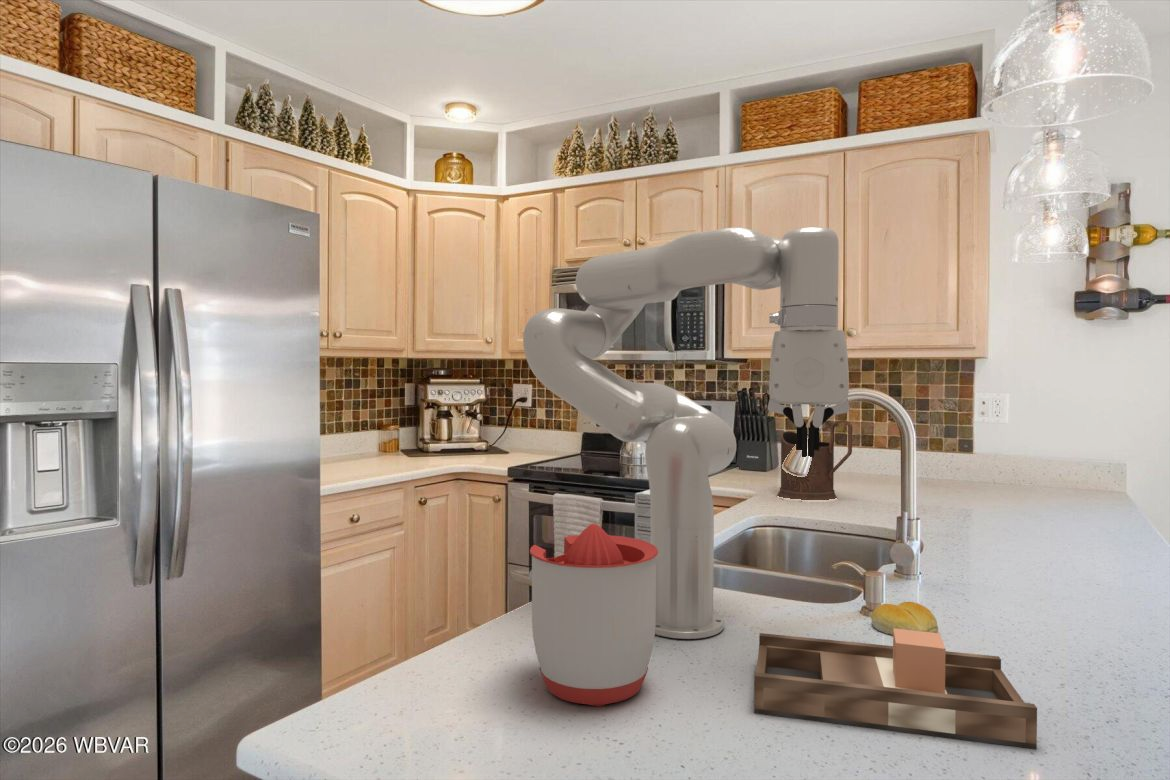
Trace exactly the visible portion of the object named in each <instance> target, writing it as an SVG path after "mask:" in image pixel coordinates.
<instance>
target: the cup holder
mask: <svg viewBox="0 0 1170 780" xmlns="http://www.w3.org/2000/svg"><path fill="white" fill-rule="evenodd" d="M839 423H840V424H841V423H844V424H845V425H847V453H846V454H845V455H844V456H843V457H842V459H841V460H840V461H839V462H838V463H837V464H836V465H834V463H835V462H834V461H835V455H834V453H835V446H834V444H835V437H836V436H835V435H836V434H835V428H836V426H837V425H838V424H839ZM829 431H830V433H829V435H830V436H829V437H830V438H829V440H830V441H829V442H828V441H827V442H826V441H820V440H819V451H814V457H812V461H811V465H810V468H809V472H808V474H807V476H805V477H797V476H793V475H791V474H789V473H786V472H785V471H784V470H783V469H782V464H783V462H784V460H785V458H786V457H787V455H788V454H789V453H790V451H791V450H792V448H793V447H794V446H795V444H796V436H797V432H793V431H782V433H780V434H781V435H780V442H781V443H780V487H779V490H778V493H777V494H776V497H777V496H779V497H783V498H790V499H801V500H829V499H835V498H837V499H838V497H837V495H836V493H835V489H834V485H835V484H834V481H835V480H834V479H835V478H834V476H835V475H834V473H835V472H836V471H837V470H838V469H839V468H840V466H842V465H843V463H844V462H845V461H846V460H847V459H848V458H849V457H851V455H852V453H853V425H852V423H851V422H850V421H849V420H847V419H839V420H836V421H833V422H832V423H831V425H830V429H829Z"/></svg>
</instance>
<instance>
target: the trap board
mask: <svg viewBox="0 0 1170 780" xmlns="http://www.w3.org/2000/svg"><path fill="white" fill-rule="evenodd" d="M758 638H759V640H758V641H759V642H758V653H757V660H756V661H757V662H756V669H755V672H754V675H753V676H754V677H753V678H754V682H753V683H754V686H753V689H754V691H753V693H754V695H753V699H754V700H753V703H754V704H753V713H754V714H761V715H768V716H776V717H784V718H794V719H799V720H808V721H815V722H816V721H817V722H823V723H830V724H831V723H832V724H839V725H846V726H854V727H862V728H870V729H878V730H884V731H885V730H886V731H891V732H892V731H893V732H902V733H908V734H910V733H911V734H917V735H923V736H932V737H939V738H940V737H941V738H948V739H949V738H950V739H954V740H955V739H956V740H963V741H971V742H980V743H986V744H993V745H994V744H996V745H1000V746H1001V745H1003V746H1009V747H1010V746H1011V747H1017V748H1026V749H1033V750H1037V742H1038V734H1037V733H1038V707H1037V706H1036V704H1034V703H1029V702H1025V701H1024V700H1023V698H1022V696H1020V694H1019V693H1018V691H1017V690H1016V689H1015V687H1014V686H1013V684H1012V682H1011V681H1010V680H1009V679H1008V677H1007V676H1006V674H1005V673H1004V672H1003V670H1002V659H1001V658H1000V656H997V655H987V654H980V653H979V654H977V653H967V652H957V651H946V650H945V694H943V693H934V692H927V691H920V690H913V689H906V688H898V687H895V681H894V674H893V645H883V644H875V643H867V642H858V641H857V642H855V641H845V640H836V639H834V640H833V639H824V638H815V637H804V636H793V635H785V634H774V633H773V634H772V633H763V632H760V633H759V637H758Z"/></svg>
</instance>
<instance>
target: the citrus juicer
mask: <svg viewBox="0 0 1170 780" xmlns="http://www.w3.org/2000/svg"><path fill="white" fill-rule="evenodd" d="M563 541H564V542H563V554H560V555H557V556H554V557H548V558H547V550H546V549H545V548H542V547H540V546H538V545H536V544H533V545H532V546H531V547H530V549H529V554H530V555H531V570H530V571H529V572H528V578H529V580H531V624H532V638H533V644H534V648H535V649H534V650H535V654H536V658H537V661H538V664H539V671H540V673H541V676H542V679H543V682H544V683H545V686H546V688H547V690H548V691H549V692H550V694H552V695H554V696H555V697H557V698H559V699H561V700H564V701H567V702H571V703H576V704H581V705H591V706H593V707H602V706H605V705H608V704H612V703H613V704H614V703H618V702H623V701H625V700H627V699H628V700H629V698H631V697H634V695H636V694H637V693H639V691H640V689H641V688H642V685H643V684H644V681H645V680H646V679H645V678H646V676H647V674H648V670H649V664H650V660H651V656H652V652H653V647H654V642H655V636H656V634H655V623H656V556H657V554H658V550H657V548H656V547H655V546H654V545H653V544H651V543H648V542H646V541H643V540H639V539H635V537H634V538H632V537H630V536H629V537H628V536H620V535H609V534H608V533H607V532H606V531H605V530H604V529H603V528H602V527H601V526H600V525H599V524H597V523H590V524H589V525H588V526H587V527H586V528H584V530H583V531H582V532H581V533H580V534H575V535H569V536H567V535H566V536H564V540H563Z"/></svg>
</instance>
